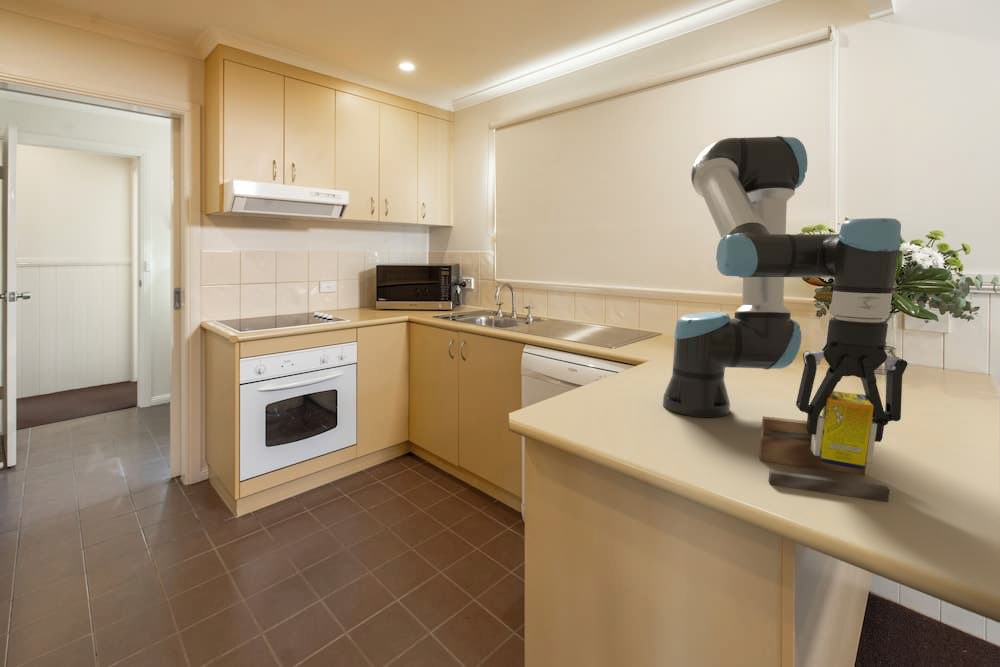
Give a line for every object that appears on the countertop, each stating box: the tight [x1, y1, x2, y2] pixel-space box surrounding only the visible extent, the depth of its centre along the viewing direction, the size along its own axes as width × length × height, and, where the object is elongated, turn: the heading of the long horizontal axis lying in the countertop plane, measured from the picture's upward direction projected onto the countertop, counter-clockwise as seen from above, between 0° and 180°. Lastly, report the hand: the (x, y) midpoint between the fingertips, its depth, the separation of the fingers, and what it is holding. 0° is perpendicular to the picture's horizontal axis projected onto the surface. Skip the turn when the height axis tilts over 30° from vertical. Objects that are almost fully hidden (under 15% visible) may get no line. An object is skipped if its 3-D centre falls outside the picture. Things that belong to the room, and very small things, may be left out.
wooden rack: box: [758, 416, 891, 503], centre depth 80 cm, size 16×11×8 cm
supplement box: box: [820, 390, 874, 470], centre depth 78 cm, size 6×6×11 cm
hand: (840, 455), depth 79 cm, fingers open, 6 cm apart
